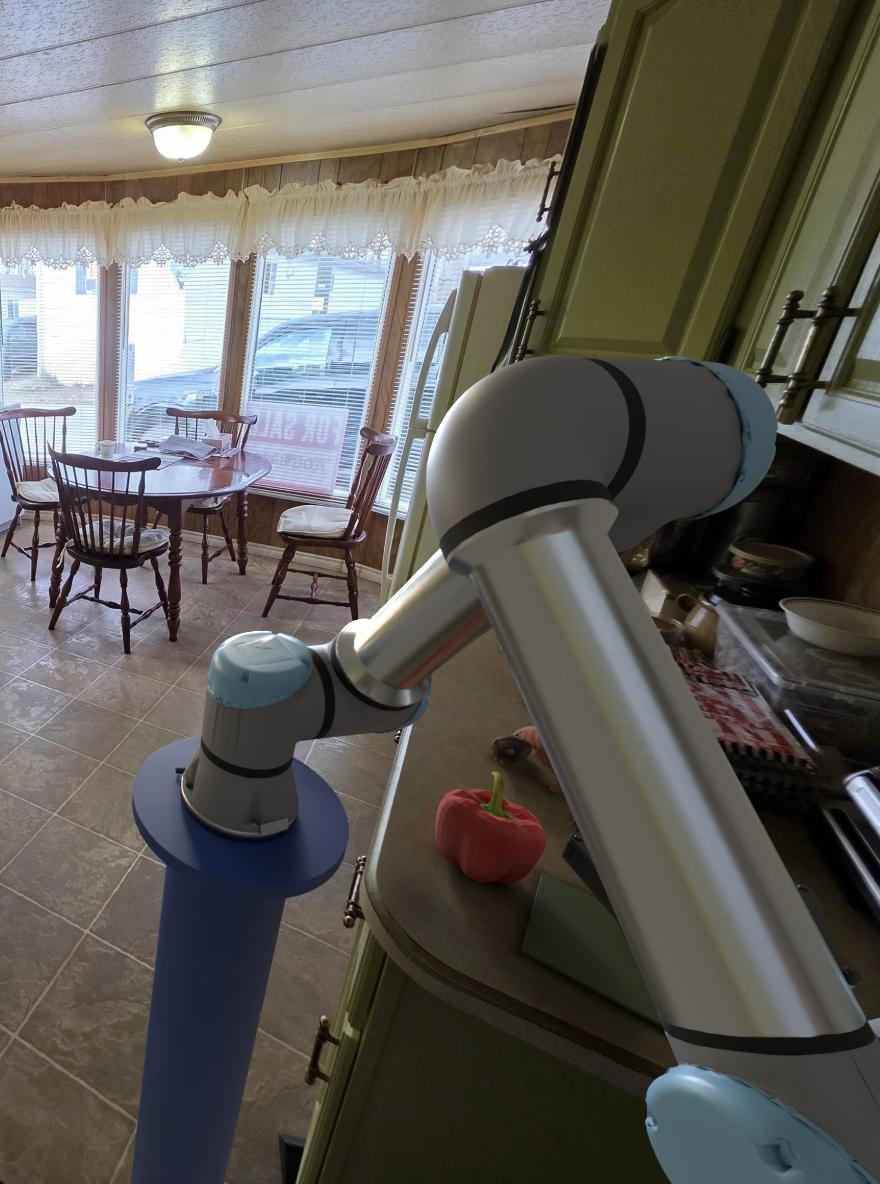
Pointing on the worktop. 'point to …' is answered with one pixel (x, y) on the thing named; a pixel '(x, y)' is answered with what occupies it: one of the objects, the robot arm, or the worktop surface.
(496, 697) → the worktop surface
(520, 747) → the headlamp
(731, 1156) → the robot arm
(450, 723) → the worktop surface
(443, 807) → the vegetable
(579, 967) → the coaster
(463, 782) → the worktop surface
